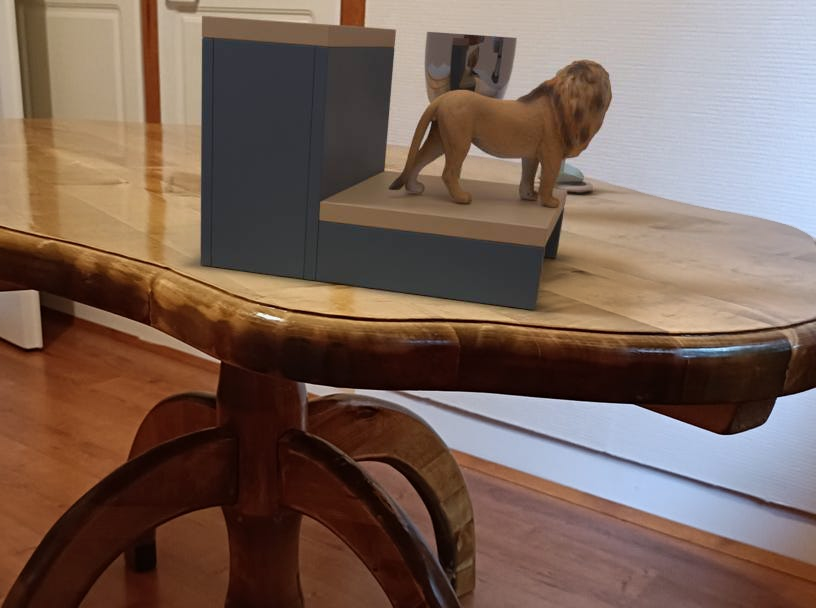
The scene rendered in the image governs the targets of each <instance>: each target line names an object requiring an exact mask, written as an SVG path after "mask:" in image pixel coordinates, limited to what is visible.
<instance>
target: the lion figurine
mask: <svg viewBox="0 0 816 608" xmlns="http://www.w3.org/2000/svg"><path fill="white" fill-rule="evenodd" d="M612 99H613V93H612V85H611V79H610V72H608V71H607V70H606V69H605V67H603V65H602V64H600V63H598V62H596V61H595V60H590V59H581V60H580V59H579V60H574V61H572V62H571V63H570V64H567V65H565V66H564V67H563V68H560V69H558V70H557V71H556V73H555V76H553V77H552V78H551V79H546V80H544V81H542V82H541V83H539V84H538V86H536V87H535V88H533V89H532V90H531V91H530V92H529V93H527V94H525V95H522V96H519V97H518V98H517V99H503V100H501V99H493V98H489V97H486V96H483V95H480V94H478V93H475V92H472V91H468V90H455V91H450V92H447V93H444V94H443V95H441V96H439V97H437V98H436V99H435V100H434V101H433V102H431V104H430V103H429V105H427V107H426V109H424V111H423V113H422V115H421V117H420V119H419V121H418V122H417V125H416V128H415V130H414V134H413V137H412V139H411V143H410V147H409V151H408V154H407V157H406V161H405V165H404V167H403V170H402V171H401V172H402V174H401V175H400V176H399V177H398V178H397V179H396V180H395V181H394V182H393V183H392V184H391V185H390V186H389V187H388V189H390V190H400V189H401V188H402V187H403V186H404V185H405V189H406V191H409V192H416V193H422V192H424V190H425V186H424V185H423V183H421V182H418V181H417V175H418V174H420V172H421V171H422V170H423V169H424V168H425V167H426V166H428V165H429V164H432V163H433V162H434V161H435V160H437V159H439V158H441V157H442V156H444V158H445V161H444V166H443V170H442V173H441V176H442V180H443V182H444V184H445V185H446V187H447V189H448V191H449V193H450V195H451V197H452V199H453V200H454V201H456V202H461V203H471V202H472V196H471V194H470V193H467V192H464V191H462V190H461V188H460V186H459V183H458V174H459V170H460V168H461V166H462V167H463V164H464V161H465V159H466V158H467V156H468V154H469V151H470V149H471V146H472V145H474V146H475V147H476V148H477V149H479V150H480V151H482V152H483V153H484V154H487V155H489V156H492V157H495V158H497V159H503V160H504V159H508V160H514V159H515V160H517V159H518V160H519V159H520V160H521V175H520V176H521V178H520V183H519V185H520V186H519V196H520V198H522V199H525V200H537V199H538V195H539V196H540V201H541V204H542V205H544V206H548V207H553V208H556V207H559V205H560V202H559V199H557V198H554V197H553V196H552V192H553V188H554V186H555V183H556V180H557V178H558V175H559V171H560V168H561V163H562V160H563V159H565V158H566V159H574V158H577V157H579V156H580V155H581V154H582V152H583V151H585V150H587V148H588V147H589V145H590V143H591V141H592V140H593V138H594V137H595V136H596V135H597V133H598V132H599V131H600V130H601V128H602V126H603V124H604V120H605V117H606V114H607V112H608V110H609V107H610V106H611V101H612ZM429 125H430V126H429ZM428 128H429V129H428ZM427 130H429V131H428V133H427ZM426 133H427V136H426ZM425 136H426V138H425ZM424 138H425V140H424ZM423 140H424V142H423ZM422 143H423V144H422ZM539 165H540V173H541V178H540V179H539V186H538V187H539V190H538V192H537V191H534V186H535V179H536V176H537V172H538V169H539Z"/></svg>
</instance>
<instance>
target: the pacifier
mask: <svg viewBox="0 0 816 608" xmlns="http://www.w3.org/2000/svg"><path fill="white" fill-rule="evenodd" d="M566 160H567V158H565V159H563V160H562V163H561V168H560V171H559V175H558V178H557V180H556V183H555V186H554V188H555V189H564V190H567V192H571V193H573V192H574V193H584V192H585V193H586V192H589V191H590V192H591V191H592V190H593V189H594V185H593V184H591V182H588V181H584V180H585V175H584V174H583V172H582V171H581V170H580V169H579V168H578V167H575V166H574V165H571V164H568V163H566ZM540 178H541V172H538V174H537V179H538V180H540Z"/></svg>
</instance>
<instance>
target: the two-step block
mask: <svg viewBox="0 0 816 608" xmlns="http://www.w3.org/2000/svg"><path fill="white" fill-rule="evenodd" d="M396 35H397V29H394V28H384V27H383V28H382V27H381V28H380V27H368V26H355V25H341V24H330V23H329V24H328V23H315V22H301V21H299V22H298V21H286V20H284V21H283V20H272V19H271V20H270V19H258V18H257V19H256V18H243V17H228V16H213V15H201V103H200V104H201V108H200V109H201V110H200V112H201V117H200V119H201V124H200V125H201V126H200V128H201V129H200V131H201V132H200V266H206V267H212V268H213V267H214V268H221V269H227V270H228V269H229V270H235V271H242V272H248V273H257V274H265V275H272V276H279V277H286V278H293V279H301V280H307V281H317V282H322V283H323V282H324V283H331V284H339V285H346V286H354V287H361V288H368V289H374V290H375V289H376V290H384V291H389V292H397V293H405V294H412V295H419V296H426V297H427V296H428V297H435V298H442V299H449V300H456V301H464V302H471V303H480V304H486V305H492V306H493V305H494V306H502V307H509V308H514V309H516V308H517V309H523V310H531V311H535V310H536V308H537V305H538V298H539V293H540V284H541V278H542V272H543V266H544V259H545V258H549V259H557V257H558V252H559V251H558V250H559V246H560V239H561V233H562V227H563V221H564V220H563V219H564V213H565V206H566V201H567V195H568V191H567V190H564V189H555V188H553V192H552V196H553V197H554V198H557V199H559V202H560V205H559V207H556V208H553V207H548V206H544V205H542V204H541V201H540V196H539V195H538V199H537V200H525V199H522V198H520V196H519V186H520V184H518V183H517V184H516V183H507V182H497V181H488V180H479V179H468V178H461V177H460V178H458V183H459V186H460V188H461V190H462V191H464V192H467V193H470V194H471V196H472V202H471V203H461V202H456V201H454V200H453V199H452V197H451V195H450V193H449V191H448V189H447V187H446V185H445V184H444V182H443V180H442V175H431V174H423V173H422V174H421V173H419V174H418V175H417V181H418V182H421V183H423V185H424V186H425V190H424V192H422V193H416V192H409V191H406V189H405V185H404V186H403V187H402V188H401V189H400V190H390V189H388V187H389V186H390V185H391V184H392V183H393V182H394V181H395V180H396V179H397V178H398V177H399V176H400V175H401V174H402V172H403V171H393V170H386V169H385V168H386V159H387V158H386V157H387V145H388V133H389V121H390V111H391V96H392V86H393V85H392V84H393V74H394V73H393V72H394V60H395V50H396V49H395V48H396ZM538 190H539V186H535V185H534V191H537V192H538Z"/></svg>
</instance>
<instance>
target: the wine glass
mask: <svg viewBox="0 0 816 608" xmlns="http://www.w3.org/2000/svg"><path fill="white" fill-rule="evenodd" d="M425 36H426V38H425V46H424V63H423V65H424V66H423V67H424V81H425V82H424V83H425V91H426V95H427V99H428V101H429V105H430V104H431V102H433V101H434V100H435V99H436V98H437V97H439V96H441V95H443V94H444V93H447V92H450V91H455V90H468V91H472V92H475V93H478V94H480V95H483V96H486V97H489V98H493V99H501V100H505V97H506V95H507V94H506V93H507V91H508V88H509V85H510V81H511V78H512V75H513V74H512V73H513V70H514V66H515V65H514V64H515V60H516V59H515V58H516V51H517V44H518V37H509V36H496V35H482V34H481V35H480V34H467V33H452V32H438V31H426V35H425ZM462 168H463V165H462V166H461V168H460V170H459V174H458V178H460V179H461V174H462Z"/></svg>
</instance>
